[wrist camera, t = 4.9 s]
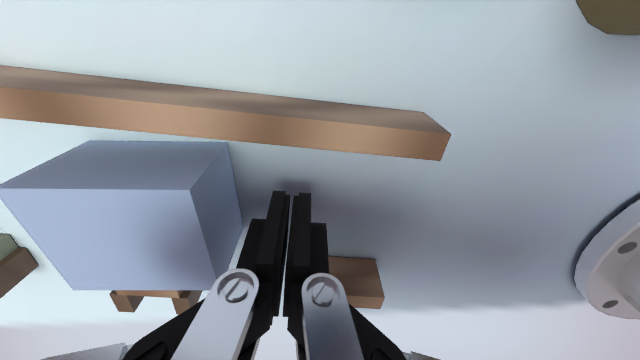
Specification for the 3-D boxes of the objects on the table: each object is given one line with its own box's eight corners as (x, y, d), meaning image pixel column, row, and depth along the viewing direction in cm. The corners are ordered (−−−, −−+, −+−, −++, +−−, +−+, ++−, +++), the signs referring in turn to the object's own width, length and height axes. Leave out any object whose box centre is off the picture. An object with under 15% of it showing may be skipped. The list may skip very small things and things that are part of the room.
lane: (423, 112, 10) (466, 146, 7) (366, 285, 16) (377, 343, 13) (-252, 37, 9) (-549, 42, 6) (-42, 260, 15) (-134, 320, 12)
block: (228, 140, 11) (188, 189, 8) (244, 225, 14) (219, 290, 10) (92, 139, 11) (-9, 188, 8) (134, 224, 14) (73, 290, 10)
